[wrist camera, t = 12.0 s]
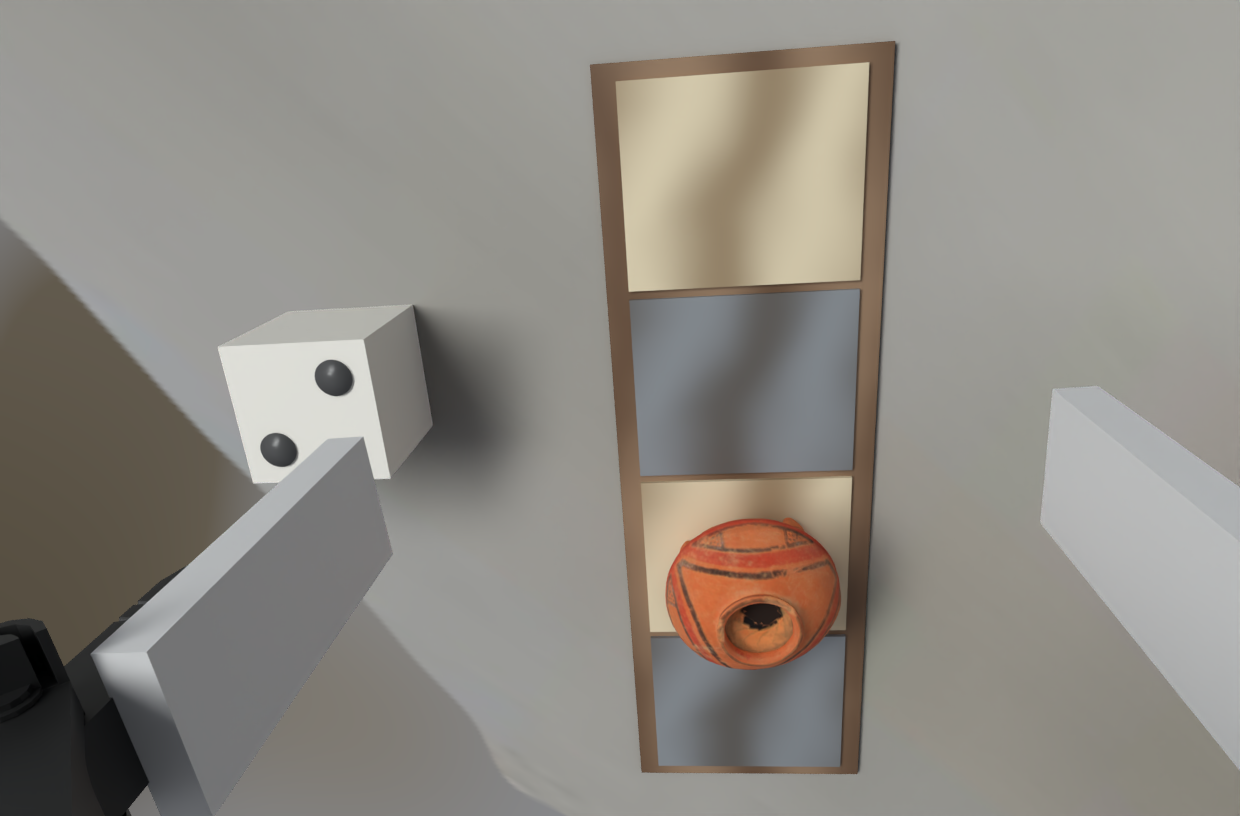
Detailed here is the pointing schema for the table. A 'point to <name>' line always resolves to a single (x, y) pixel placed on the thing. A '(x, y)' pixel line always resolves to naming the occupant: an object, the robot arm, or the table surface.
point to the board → (745, 366)
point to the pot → (753, 593)
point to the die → (328, 387)
